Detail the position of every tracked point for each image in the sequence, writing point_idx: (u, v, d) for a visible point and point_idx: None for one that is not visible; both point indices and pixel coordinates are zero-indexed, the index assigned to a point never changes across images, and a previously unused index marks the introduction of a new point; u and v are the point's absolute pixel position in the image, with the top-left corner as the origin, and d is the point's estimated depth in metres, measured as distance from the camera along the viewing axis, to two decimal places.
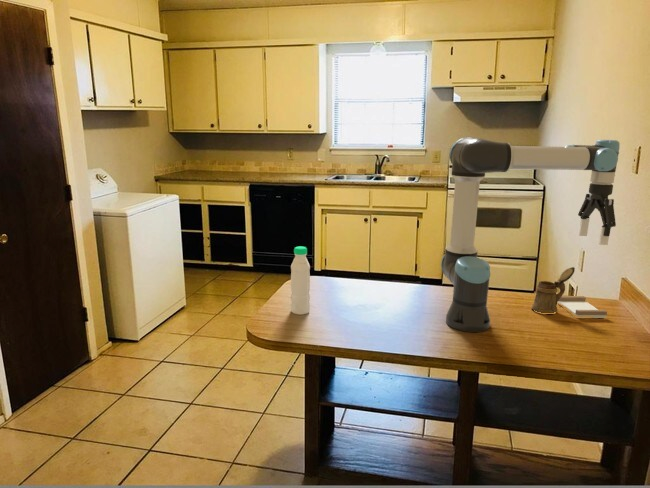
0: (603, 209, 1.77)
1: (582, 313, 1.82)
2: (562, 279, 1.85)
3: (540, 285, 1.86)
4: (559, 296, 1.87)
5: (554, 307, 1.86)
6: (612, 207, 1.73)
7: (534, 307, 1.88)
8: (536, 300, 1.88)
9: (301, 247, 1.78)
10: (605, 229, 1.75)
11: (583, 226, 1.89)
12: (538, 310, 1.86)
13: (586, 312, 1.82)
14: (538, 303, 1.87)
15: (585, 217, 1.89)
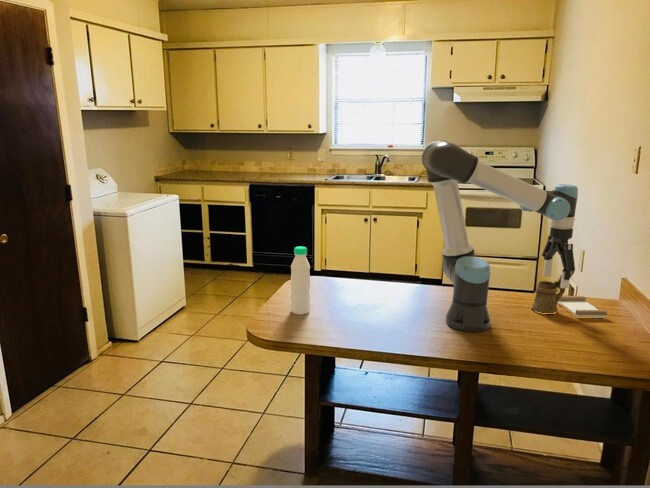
0: (563, 253, 1.79)
1: (582, 313, 1.82)
2: None
3: (540, 285, 1.86)
4: (559, 296, 1.87)
5: (554, 307, 1.86)
6: (571, 252, 1.76)
7: (534, 307, 1.88)
8: (536, 300, 1.88)
9: (301, 247, 1.78)
10: (565, 273, 1.77)
11: (546, 267, 1.91)
12: (538, 310, 1.86)
13: (586, 312, 1.82)
14: (538, 303, 1.87)
15: (548, 258, 1.91)
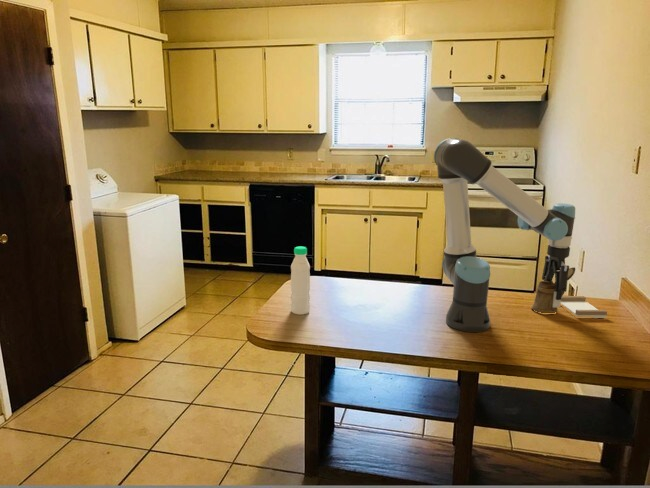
0: (558, 273, 1.82)
1: (582, 313, 1.82)
2: None
3: (540, 285, 1.86)
4: None
5: (554, 307, 1.86)
6: (566, 273, 1.79)
7: (534, 307, 1.88)
8: (536, 300, 1.88)
9: (301, 247, 1.78)
10: (557, 293, 1.83)
11: None
12: (538, 310, 1.86)
13: (586, 312, 1.82)
14: (538, 303, 1.87)
15: None
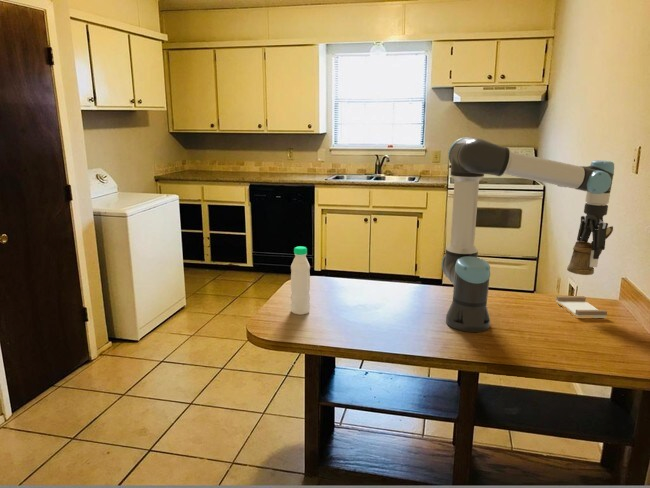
0: (596, 231, 1.79)
1: (582, 313, 1.82)
2: None
3: (577, 245, 1.83)
4: None
5: (591, 267, 1.82)
6: (605, 231, 1.76)
7: (570, 267, 1.85)
8: (572, 260, 1.84)
9: (301, 247, 1.78)
10: (594, 252, 1.79)
11: None
12: (575, 270, 1.83)
13: (586, 312, 1.82)
14: (574, 263, 1.83)
15: None
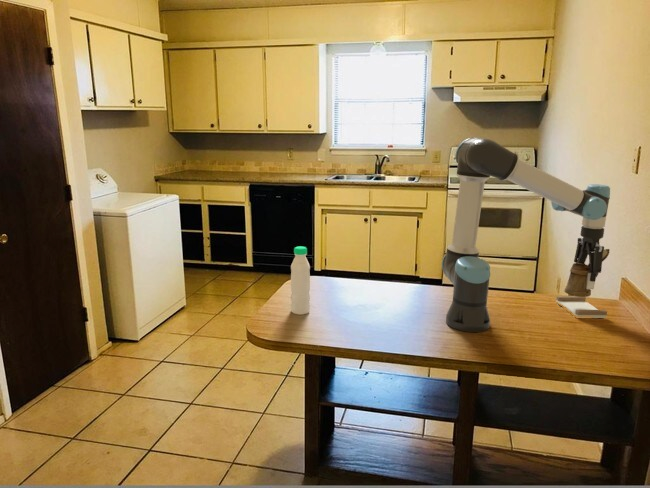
0: (592, 254, 1.81)
1: (582, 313, 1.82)
2: None
3: (574, 267, 1.85)
4: None
5: (588, 289, 1.84)
6: (601, 254, 1.78)
7: (567, 289, 1.87)
8: (570, 282, 1.86)
9: (301, 247, 1.78)
10: (591, 275, 1.81)
11: None
12: (572, 292, 1.85)
13: (586, 312, 1.82)
14: (572, 285, 1.85)
15: None
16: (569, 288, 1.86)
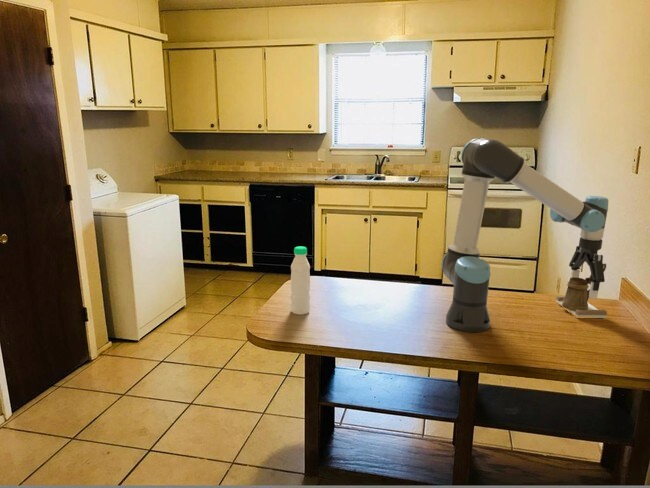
0: (592, 264, 1.81)
1: (582, 313, 1.82)
2: None
3: (571, 281, 1.86)
4: None
5: (585, 303, 1.86)
6: (601, 263, 1.78)
7: (565, 303, 1.88)
8: (567, 296, 1.88)
9: (301, 247, 1.78)
10: (594, 284, 1.79)
11: None
12: (569, 306, 1.87)
13: (586, 312, 1.82)
14: (569, 299, 1.87)
15: (576, 268, 1.93)
16: (566, 302, 1.88)
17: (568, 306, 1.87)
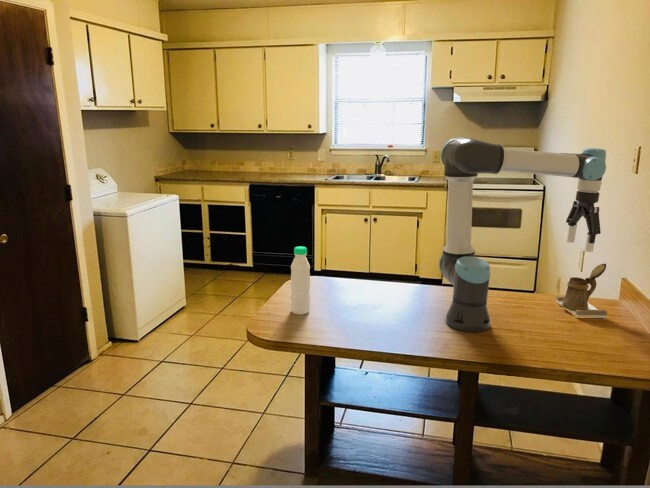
0: (589, 216, 1.79)
1: (582, 313, 1.82)
2: (593, 275, 1.85)
3: (571, 281, 1.86)
4: (590, 292, 1.87)
5: (585, 303, 1.86)
6: (597, 215, 1.76)
7: (565, 303, 1.88)
8: (567, 296, 1.88)
9: (301, 247, 1.78)
10: (590, 236, 1.77)
11: (570, 233, 1.92)
12: (569, 306, 1.87)
13: (586, 312, 1.82)
14: (569, 299, 1.87)
15: (572, 224, 1.92)
16: (566, 302, 1.88)
17: (568, 306, 1.87)
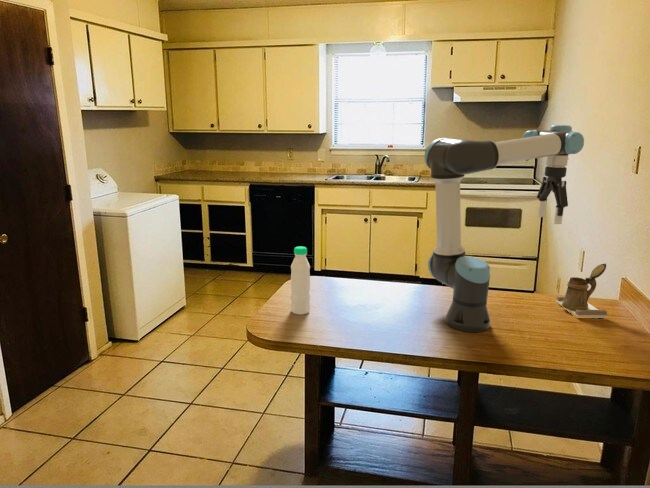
0: (557, 190, 1.87)
1: (582, 313, 1.82)
2: (593, 275, 1.85)
3: (571, 281, 1.86)
4: (590, 292, 1.87)
5: (585, 303, 1.86)
6: (565, 188, 1.84)
7: (565, 303, 1.88)
8: (567, 296, 1.88)
9: (301, 247, 1.78)
10: (559, 209, 1.86)
11: (541, 208, 2.00)
12: (569, 306, 1.87)
13: (586, 312, 1.82)
14: (569, 299, 1.87)
15: (543, 199, 2.00)
16: (566, 302, 1.88)
17: (568, 306, 1.87)
